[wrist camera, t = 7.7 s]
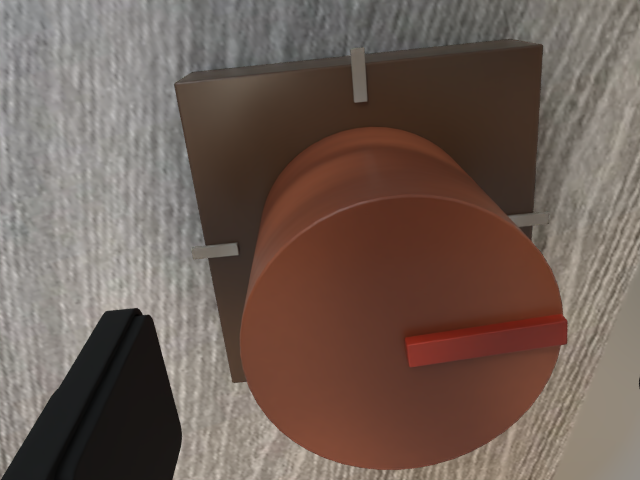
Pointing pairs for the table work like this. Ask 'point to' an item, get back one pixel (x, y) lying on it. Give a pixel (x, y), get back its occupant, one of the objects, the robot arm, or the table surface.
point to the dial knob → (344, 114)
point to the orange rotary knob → (394, 306)
